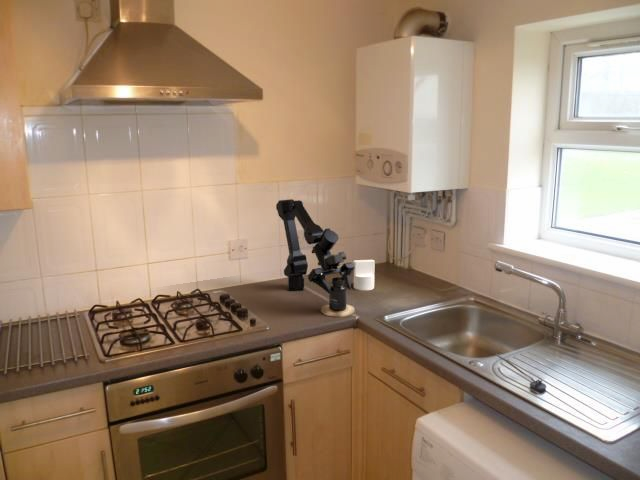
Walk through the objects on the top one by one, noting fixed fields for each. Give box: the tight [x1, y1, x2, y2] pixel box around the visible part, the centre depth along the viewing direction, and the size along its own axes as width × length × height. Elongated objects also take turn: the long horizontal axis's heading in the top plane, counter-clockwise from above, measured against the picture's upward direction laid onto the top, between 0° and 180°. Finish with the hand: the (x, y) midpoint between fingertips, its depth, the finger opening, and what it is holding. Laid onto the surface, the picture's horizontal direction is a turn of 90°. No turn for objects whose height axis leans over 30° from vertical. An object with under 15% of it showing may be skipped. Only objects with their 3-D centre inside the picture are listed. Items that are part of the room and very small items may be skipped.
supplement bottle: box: [328, 276, 348, 311], centre depth 208 cm, size 7×7×12 cm
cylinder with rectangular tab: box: [353, 259, 376, 291], centre depth 237 cm, size 9×9×12 cm
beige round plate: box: [320, 303, 356, 318], centre depth 209 cm, size 13×13×1 cm
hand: (340, 290), depth 206 cm, fingers open, 9 cm apart
